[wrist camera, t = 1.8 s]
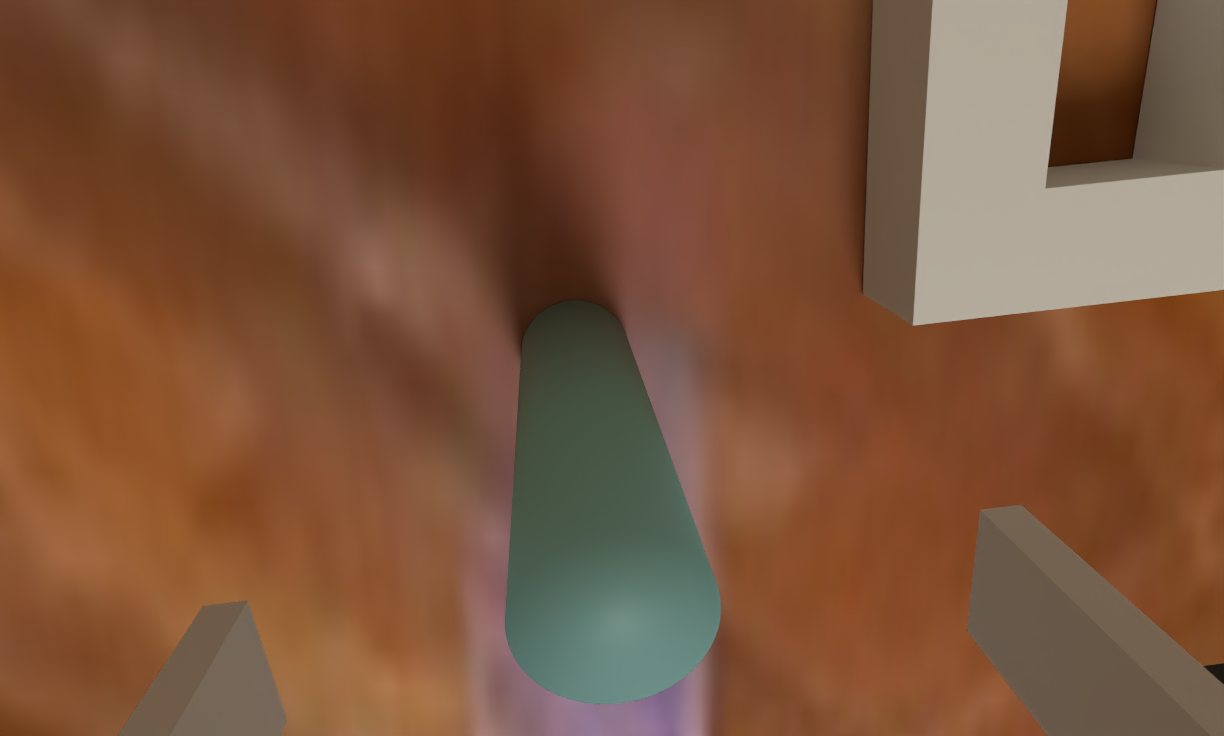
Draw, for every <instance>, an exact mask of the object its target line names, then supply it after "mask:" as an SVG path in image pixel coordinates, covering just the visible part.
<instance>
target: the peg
mask: <svg viewBox="0 0 1224 736" xmlns="http://www.w3.org/2000/svg"><path fill="white" fill-rule="evenodd" d="M720 617H721V601H720V594H719V590H718V587H717V583H716V580H715V578H714V575H713V572H712V569H711V567H710V564H709V561H708V558H707V556H706V553H705V550H704V547H703V545H702V542H701V539H700V536H699V534H698V531H697V528H696V526H695V523H694V520H693V517H692V515H691V512H690V509H689V506H688V504H687V501H686V498H685V495H684V493H683V490H682V487H681V484H680V482H679V479H678V476H677V473H676V471H675V468H674V465H673V462H672V460H671V457H670V454H669V451H668V449H667V446H666V443H665V440H664V438H663V435H662V432H661V430H660V427H659V424H658V421H657V419H656V416H655V413H654V410H653V408H652V405H651V402H650V399H649V397H648V394H647V391H646V388H645V386H644V383H643V380H642V377H641V375H640V372H639V369H638V366H637V364H636V361H635V358H634V355H633V353H632V350H631V347H630V345H629V342H628V339H627V336H626V334H625V331H624V329H623V327H622V325H621V324H620V322H619V321H618V320H617V319H616V317H615V316H614V315H613V314H612V313H610V312H609V311H608V310H606V309H605V308H603V307H601V306H599V305H597V304H594V303H591V302H587V301H580V300H570V301H564V302H560V303H557V304H554V305H552V306H550V307H548V308H546V309H545V310H543V311H542V312H541V313H539V314H538V315H537V316H536V317H535V318H534V319H533V320H532V322H531V323H530V325H529V326H528V328H527V330H526V332H525V335H524V337H523V341H522V349H521V365H520V381H519V398H518V414H517V431H516V447H515V464H514V480H513V497H512V513H511V530H510V546H509V563H508V579H507V596H506V612H505V630H506V637H507V641H508V644H509V647H510V649H511V652H512V654H513V656H514V658H515V659H516V661H517V663H518V664H519V666H520V667H521V668H522V669H523V670H524V672H525V673H526V674H527V675H528V676H529V677H530V678H531V679H533V680H534V681H535V682H536V683H537V684H539V685H540V686H542V687H544V688H545V689H547V690H548V691H551V692H553V693H555V694H557V695H559V696H562V697H565V698H567V699H570V700H575V701H579V702H583V703H592V704H617V703H626V702H631V701H636V700H639V699H643V698H646V697H649V696H652V695H654V694H657V693H659V692H661V691H663V690H665V689H667V688H669V687H671V686H672V685H674V684H675V683H677V682H678V681H680V680H681V679H683V678H684V677H685V676H686V675H688V674H689V673H690V672H691V671H692V670H693V669H694V668H695V667H696V666H697V665H698V664H699V663H700V661H701V660H702V659H703V658H704V656H705V655H706V653H707V652H708V650H709V649H710V647H711V645H712V643H713V641H714V639H715V636H716V633H717V631H718V627H719V622H720Z"/></svg>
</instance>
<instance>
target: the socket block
mask: <svg viewBox="0 0 1224 736" xmlns="http://www.w3.org/2000/svg"><path fill="white" fill-rule="evenodd" d="M1067 2H1068V0H873V13H872V41H871V70H870V99H869V127H868V156H867V185H866V213H865V242H864V271H863V295H865V296H866V297H868V298H870V299H871V300H873V301H874V302H876V303H878V304H879V305H881V306H882V307H884V308H886V309H887V310H889V311H890V312H892V313H894V314H895V315H897V316H898V317H900V318H902V319H903V320H905V321H907V322H908V323H910V324H911V325H922V324H930V323H939V322H948V321H956V320H965V319H974V318H982V317H991V316H1000V315H1008V314H1017V313H1026V312H1034V311H1043V310H1052V309H1060V308H1069V307H1078V306H1086V305H1095V304H1104V303H1113V302H1121V301H1130V300H1139V299H1147V298H1156V297H1165V296H1173V295H1182V294H1191V293H1199V292H1208V291H1217V290H1224V0H1158V1H1157V7H1156V13H1155V20H1154V26H1153V32H1152V38H1151V45H1150V51H1149V57H1148V64H1147V70H1146V76H1145V83H1144V89H1143V95H1142V101H1141V108H1140V114H1139V120H1138V127H1137V133H1136V139H1135V146H1134V152H1133V158H1132V159H1124V160H1114V161H1105V162H1095V163H1085V164H1076V165H1066V166H1056V167H1048V161H1049V153H1050V144H1051V136H1052V127H1053V119H1054V111H1055V102H1056V94H1057V86H1058V77H1059V69H1060V61H1061V52H1062V44H1063V36H1064V27H1065V19H1066V10H1067Z"/></svg>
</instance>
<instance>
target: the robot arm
mask: <svg viewBox="0 0 1224 736" xmlns="http://www.w3.org/2000/svg"><path fill="white" fill-rule="evenodd" d="M967 632H968V633H969V634H970V635H971V637H972V638H973V639H974V641H975V642H976V643H977V645H978V646H979V647H980V648H981V650H982V651H983V652H984V654H985V655H986V656H987V658H988V659H989V660H990V661H991V663H992V664H993V665H994V667H995V668H996V669H997V671H998V672H999V673H1000V674H1001V676H1002V677H1003V678H1004V680H1005V681H1006V682H1007V683H1008V685H1009V686H1010V687H1011V689H1012V690H1013V691H1014V693H1015V694H1016V695H1017V696H1018V698H1019V699H1020V700H1021V702H1022V703H1023V704H1024V706H1025V707H1026V708H1027V709H1028V711H1029V712H1030V713H1031V715H1032V716H1033V717H1034V719H1035V720H1036V721H1037V722H1038V724H1039V725H1040V726H1041V728H1042V729H1043V730H1044V732H1045V733H1046V734H1047V735H1048V736H1224V663H1223V664H1216V665H1209V666H1202V665H1201V664H1200V663H1199V662H1198V661H1197V660H1195V659H1194V658H1193V657H1192V656H1191V655H1190V654H1189V653H1188V652H1186V651H1185V650H1184V649H1183V648H1182V647H1181V646H1180V645H1179V644H1177V643H1176V642H1175V641H1174V640H1173V639H1172V638H1171V637H1169V636H1168V635H1167V634H1166V633H1165V632H1164V631H1163V630H1162V629H1160V628H1159V627H1158V626H1157V625H1156V624H1155V623H1154V622H1153V621H1151V620H1150V619H1149V618H1148V617H1147V616H1146V615H1145V614H1144V613H1142V612H1141V611H1140V610H1139V609H1138V608H1137V607H1136V606H1135V605H1133V604H1132V603H1131V602H1130V601H1129V600H1128V599H1127V598H1125V597H1124V596H1123V595H1122V594H1121V593H1120V592H1119V591H1118V590H1116V589H1115V588H1114V587H1113V586H1112V585H1111V584H1110V583H1109V582H1107V581H1106V580H1105V579H1104V578H1103V577H1102V576H1101V575H1100V574H1098V573H1097V572H1096V571H1095V570H1094V569H1093V568H1092V567H1090V566H1089V565H1088V564H1087V563H1086V562H1085V561H1084V560H1083V559H1081V558H1080V557H1079V556H1078V555H1077V554H1076V553H1075V552H1074V551H1072V550H1071V549H1070V548H1069V547H1068V546H1067V545H1066V544H1065V543H1063V542H1062V541H1061V540H1060V539H1059V538H1058V537H1057V536H1055V535H1054V534H1053V533H1052V532H1051V531H1050V530H1049V529H1048V528H1046V527H1045V526H1044V525H1043V524H1042V523H1041V522H1040V521H1039V520H1037V519H1036V518H1035V517H1034V516H1033V515H1032V514H1031V513H1030V512H1028V511H1027V510H1026V509H1025V508H1024V507H1023V506H1022V505H1016V506H1008V507H1000V508H992V509H984V510H980V517H979V526H978V535H977V544H976V553H975V562H974V571H973V580H972V589H971V598H970V607H969V616H968V625H967ZM286 721H287V719H286V716H285V713H284V710H283V707H282V704H281V701H280V698H279V695H278V691H277V688H276V685H275V682H274V679H273V676H272V673H271V670H270V667H269V664H268V661H267V658H266V655H265V652H264V649H263V646H262V643H261V640H260V636H259V633H258V630H257V627H256V624H255V621H254V618H253V615H252V612H251V609H250V606H249V603H248V601H241V602H233V603H225V604H216V605H208V606H203V607H202V608H201V610H200V611H199V613H198V614H197V616H196V617H195V619H194V620H193V622H192V624H191V625H190V627H189V628H188V630H187V631H186V633H185V634H184V636H183V637H182V639H181V640H180V642H179V643H178V645H177V646H176V648H175V649H174V651H173V653H172V654H171V656H170V657H169V659H168V660H167V662H166V663H165V665H164V666H163V668H162V669H161V671H160V672H159V674H158V675H157V677H156V679H155V680H154V682H153V683H152V685H151V686H150V688H149V689H148V691H147V692H146V694H145V695H144V697H143V698H142V700H141V701H140V703H139V704H138V706H137V708H136V709H135V711H134V712H133V714H132V715H131V717H130V718H129V720H128V721H127V723H126V724H125V726H124V727H123V729H122V730H121V732H120V733H119V735H118V736H281V734H282V731H283V729H284V726H285V724H286Z"/></svg>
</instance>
